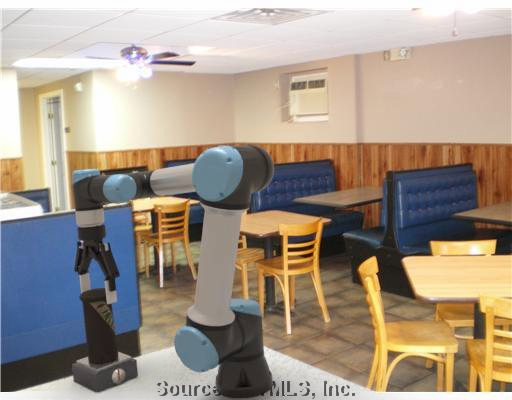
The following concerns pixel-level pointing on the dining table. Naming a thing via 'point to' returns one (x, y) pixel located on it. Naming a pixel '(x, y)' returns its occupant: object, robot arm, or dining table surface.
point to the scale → (104, 372)
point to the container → (99, 326)
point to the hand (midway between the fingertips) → (99, 299)
